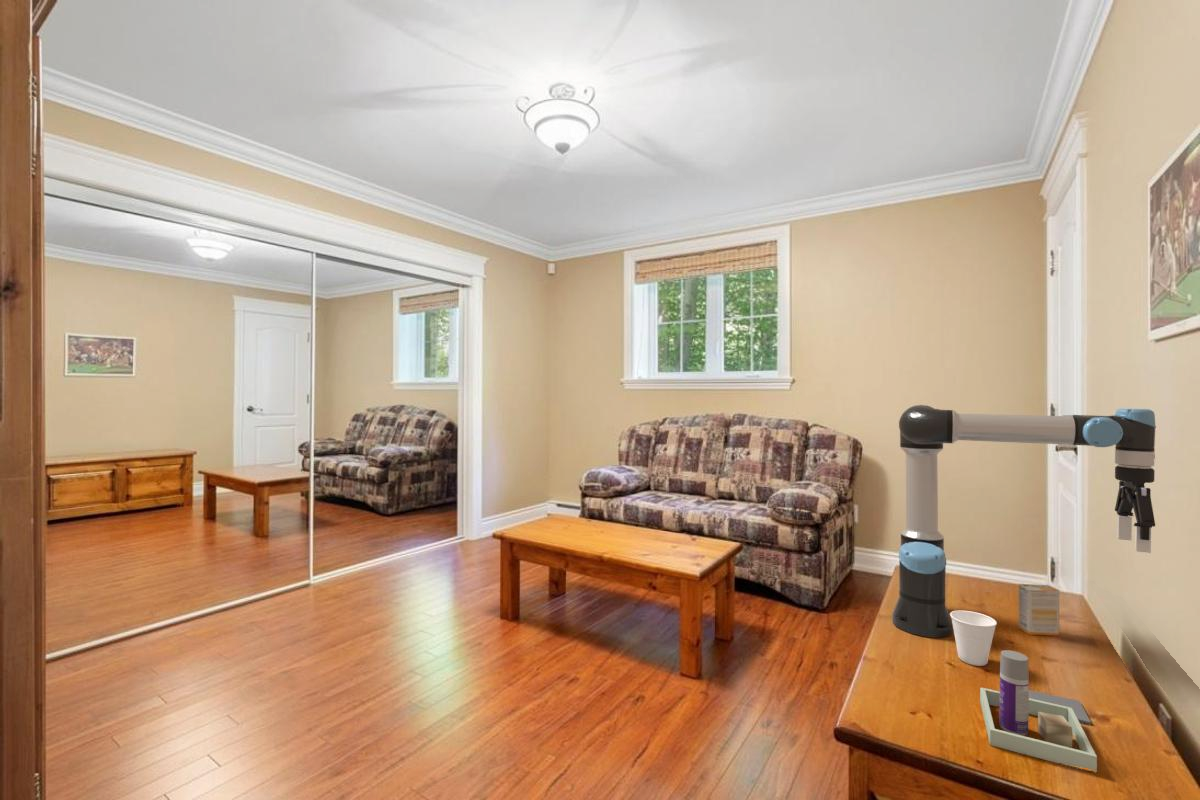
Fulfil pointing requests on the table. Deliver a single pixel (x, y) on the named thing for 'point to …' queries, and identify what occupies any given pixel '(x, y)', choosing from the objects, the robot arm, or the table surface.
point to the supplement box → (1039, 609)
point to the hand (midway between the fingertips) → (1133, 545)
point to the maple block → (1055, 729)
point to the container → (1014, 692)
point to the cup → (973, 636)
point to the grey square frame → (1038, 747)
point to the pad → (1062, 704)
